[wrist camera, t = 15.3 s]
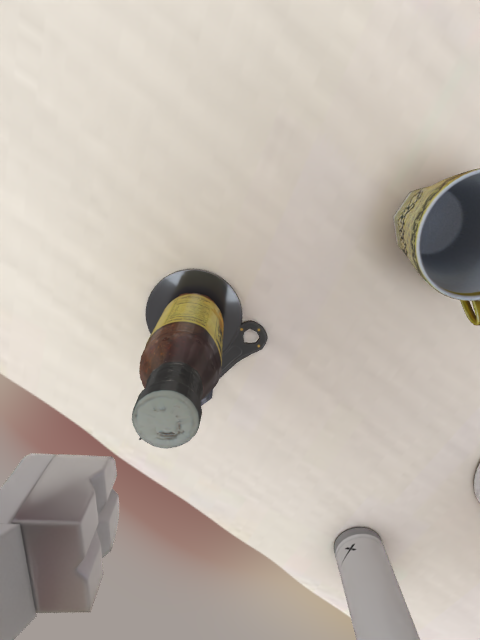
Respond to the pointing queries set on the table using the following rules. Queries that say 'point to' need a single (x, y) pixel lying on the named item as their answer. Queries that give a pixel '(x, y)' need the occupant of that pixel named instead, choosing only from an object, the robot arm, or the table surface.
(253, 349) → the throwing knife
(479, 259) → the ceramic cup
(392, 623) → the travel mug
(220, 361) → the sauce bottle
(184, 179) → the table surface
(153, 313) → the round mirror
